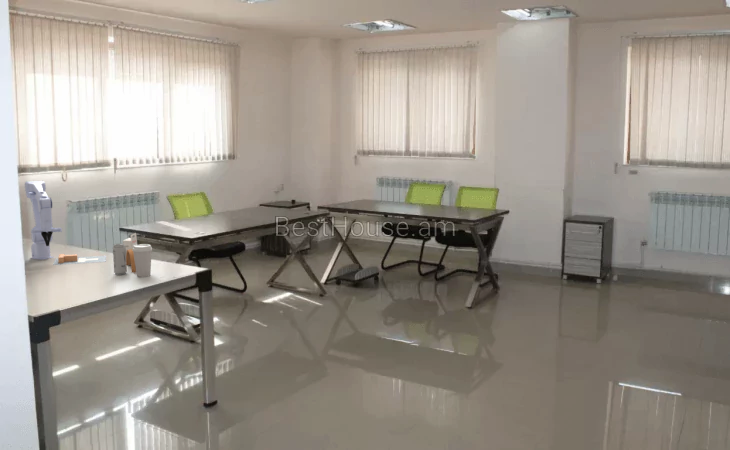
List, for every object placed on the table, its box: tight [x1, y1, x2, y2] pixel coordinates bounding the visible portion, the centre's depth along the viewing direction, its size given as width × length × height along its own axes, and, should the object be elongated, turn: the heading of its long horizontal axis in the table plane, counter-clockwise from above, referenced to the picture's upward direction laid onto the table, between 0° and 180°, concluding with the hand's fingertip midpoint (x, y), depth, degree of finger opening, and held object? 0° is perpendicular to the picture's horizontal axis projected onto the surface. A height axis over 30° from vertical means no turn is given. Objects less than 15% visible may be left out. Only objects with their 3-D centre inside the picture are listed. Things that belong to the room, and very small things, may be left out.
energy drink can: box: [112, 242, 128, 276], centre depth 329 cm, size 6×6×15 cm
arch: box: [126, 249, 136, 273], centre depth 343 cm, size 6×20×10 cm, turn 27°
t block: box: [58, 253, 78, 263], centre depth 358 cm, size 9×10×3 cm
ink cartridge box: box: [122, 232, 138, 253], centre depth 362 cm, size 9×5×15 cm, turn 179°
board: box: [52, 255, 107, 266], centre depth 360 cm, size 26×18×1 cm
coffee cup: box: [132, 243, 153, 278], centre depth 326 cm, size 10×10×15 cm
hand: (47, 245), depth 353 cm, fingers closed
